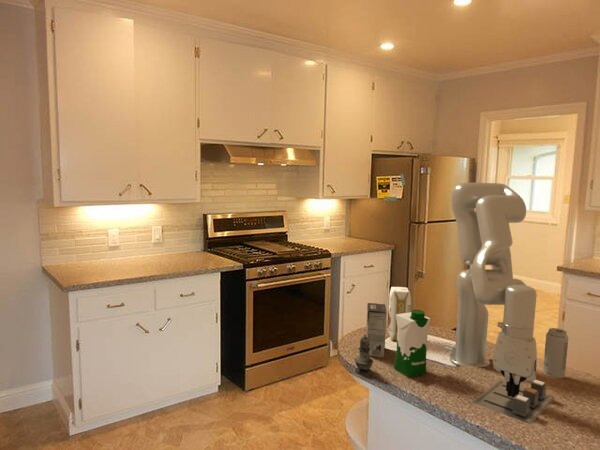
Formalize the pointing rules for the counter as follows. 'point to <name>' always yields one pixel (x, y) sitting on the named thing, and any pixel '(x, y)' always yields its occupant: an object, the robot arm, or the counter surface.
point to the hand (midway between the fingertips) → (512, 395)
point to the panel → (509, 402)
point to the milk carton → (412, 343)
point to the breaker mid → (531, 396)
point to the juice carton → (397, 308)
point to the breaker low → (521, 405)
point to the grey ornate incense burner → (364, 358)
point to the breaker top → (539, 388)
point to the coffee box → (376, 328)
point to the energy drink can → (555, 353)
